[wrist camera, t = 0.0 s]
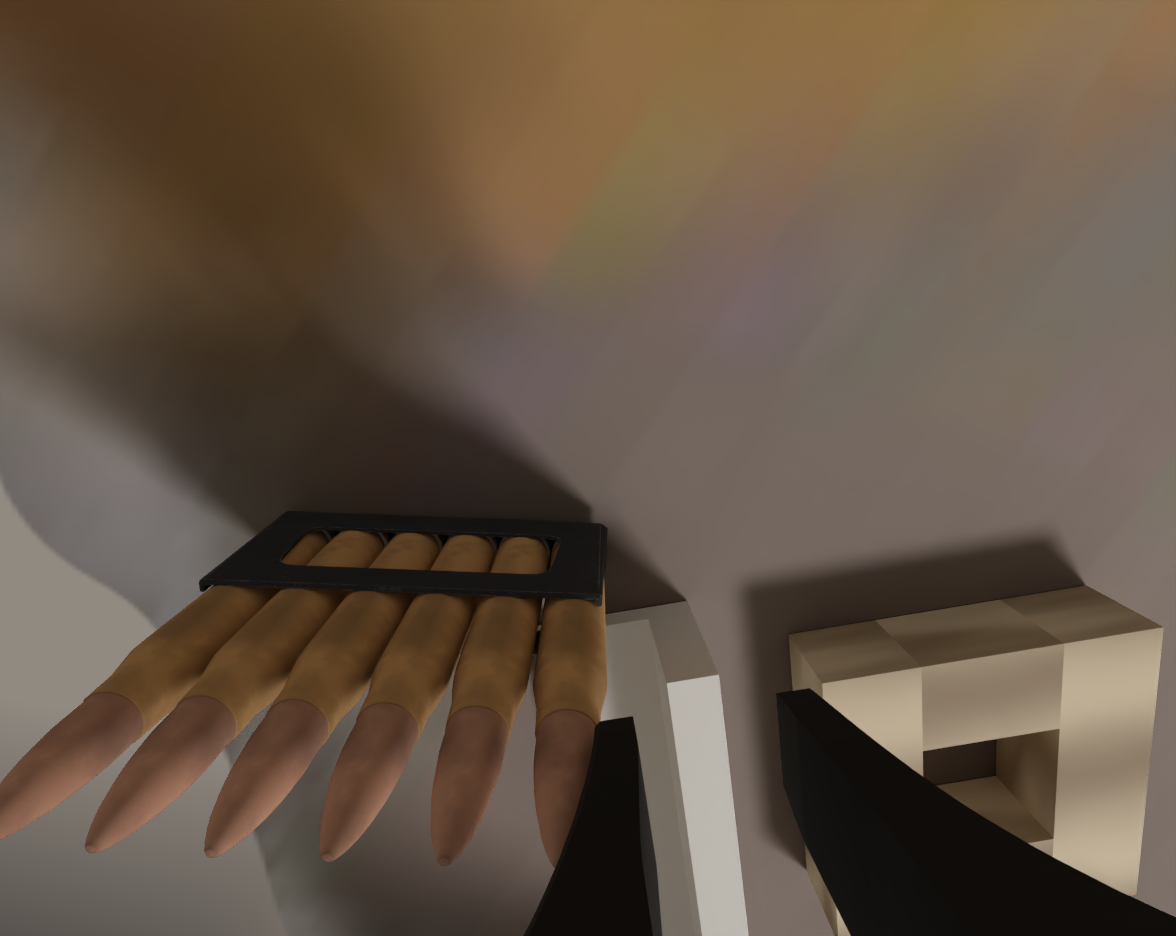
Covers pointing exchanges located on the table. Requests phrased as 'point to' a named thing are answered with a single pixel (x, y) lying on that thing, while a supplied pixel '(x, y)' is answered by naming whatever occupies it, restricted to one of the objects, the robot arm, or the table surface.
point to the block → (1010, 714)
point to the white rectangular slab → (679, 764)
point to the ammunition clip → (349, 679)
